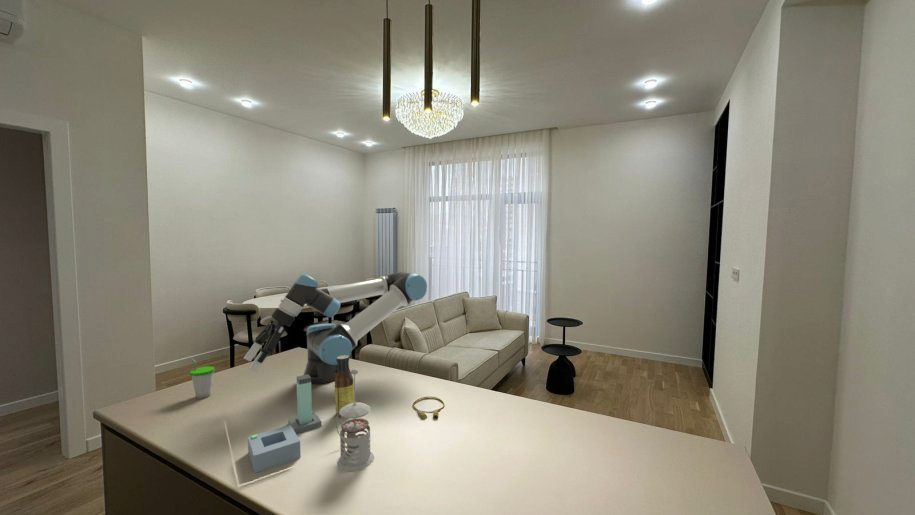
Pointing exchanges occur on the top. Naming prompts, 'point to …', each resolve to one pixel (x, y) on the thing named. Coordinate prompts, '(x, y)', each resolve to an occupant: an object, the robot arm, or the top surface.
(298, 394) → the plug
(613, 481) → the top surface
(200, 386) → the cup
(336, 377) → the sauce bottle
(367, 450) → the french press
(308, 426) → the holster
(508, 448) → the top surface
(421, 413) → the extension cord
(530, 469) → the top surface
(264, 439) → the port
